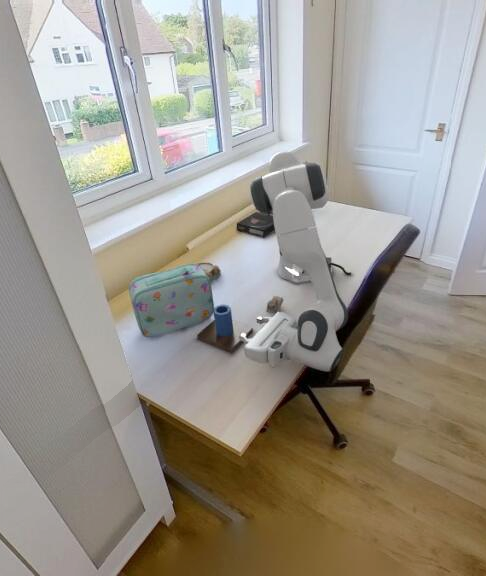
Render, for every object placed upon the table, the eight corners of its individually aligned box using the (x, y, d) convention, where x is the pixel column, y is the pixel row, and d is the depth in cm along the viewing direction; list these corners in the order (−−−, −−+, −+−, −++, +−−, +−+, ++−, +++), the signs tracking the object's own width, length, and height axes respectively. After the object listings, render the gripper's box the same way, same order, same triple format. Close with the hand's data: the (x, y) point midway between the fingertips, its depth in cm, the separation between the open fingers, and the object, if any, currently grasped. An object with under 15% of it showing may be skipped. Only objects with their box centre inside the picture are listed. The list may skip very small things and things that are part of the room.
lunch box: (210, 304, 146) (202, 253, 134) (220, 319, 138) (212, 266, 126) (137, 327, 136) (122, 274, 124) (144, 344, 129) (128, 290, 117)
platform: (253, 332, 132) (251, 310, 127) (231, 354, 123) (228, 332, 118) (220, 319, 138) (217, 298, 133) (197, 339, 130) (193, 318, 125)
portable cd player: (236, 230, 197) (235, 223, 195) (256, 218, 209) (256, 211, 207) (263, 238, 189) (262, 230, 187) (282, 225, 201) (282, 218, 199)
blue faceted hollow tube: (236, 329, 130) (233, 307, 125) (226, 338, 126) (223, 316, 121) (223, 324, 133) (220, 302, 128) (213, 333, 129) (210, 311, 124)
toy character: (266, 317, 141) (262, 309, 136) (275, 299, 145) (271, 290, 140) (276, 320, 140) (273, 312, 135) (285, 302, 143) (281, 293, 138)
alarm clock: (198, 260, 168) (225, 263, 160) (201, 270, 170) (228, 273, 162) (180, 272, 160) (208, 276, 152) (184, 283, 162) (211, 287, 154)
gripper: (304, 314, 121) (266, 301, 127) (269, 355, 107) (228, 338, 113) (304, 330, 124) (267, 317, 131) (270, 371, 110) (230, 354, 117)
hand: (249, 327), depth 122 cm, fingers open, 8 cm apart
